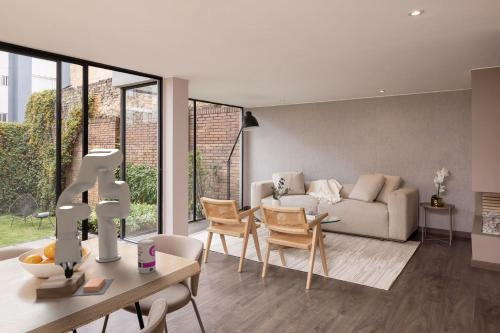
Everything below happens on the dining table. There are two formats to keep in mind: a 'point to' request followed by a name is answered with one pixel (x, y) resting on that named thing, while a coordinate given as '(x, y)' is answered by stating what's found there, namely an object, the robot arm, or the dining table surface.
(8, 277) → the dining table surface
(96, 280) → the peach rectangular tile
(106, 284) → the mat
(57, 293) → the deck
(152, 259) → the supplement can
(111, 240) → the robot arm
